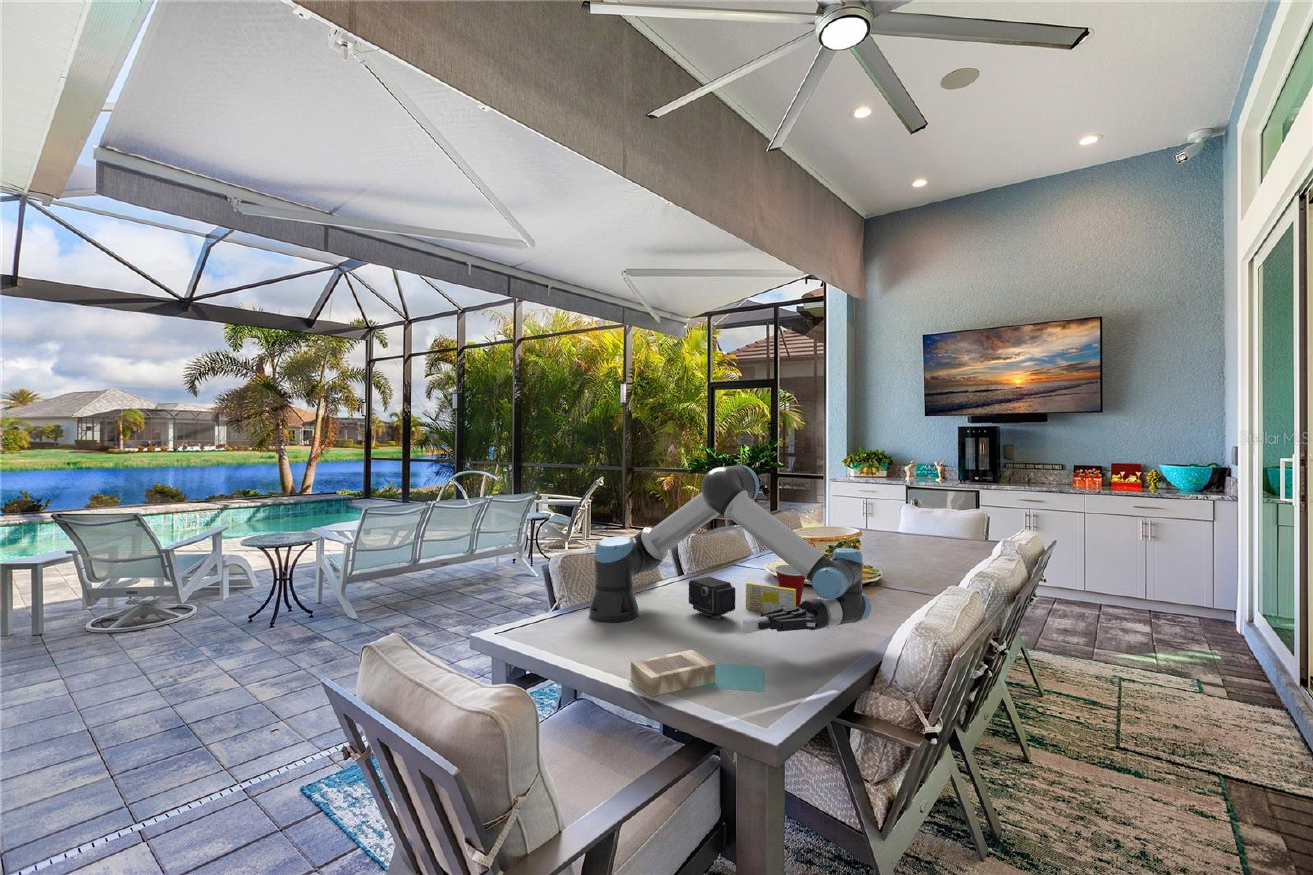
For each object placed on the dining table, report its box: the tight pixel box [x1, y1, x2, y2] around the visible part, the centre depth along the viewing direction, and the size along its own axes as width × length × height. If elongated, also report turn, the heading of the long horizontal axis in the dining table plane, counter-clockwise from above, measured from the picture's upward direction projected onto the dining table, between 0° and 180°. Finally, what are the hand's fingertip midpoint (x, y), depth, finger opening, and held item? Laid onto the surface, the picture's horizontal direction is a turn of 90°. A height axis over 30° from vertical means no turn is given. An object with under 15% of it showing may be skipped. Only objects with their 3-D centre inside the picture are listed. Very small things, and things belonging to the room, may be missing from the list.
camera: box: [688, 576, 736, 620], centre depth 182 cm, size 11×11×15 cm
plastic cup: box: [774, 564, 806, 607], centre depth 193 cm, size 11×11×12 cm
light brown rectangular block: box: [630, 649, 715, 698], centre depth 132 cm, size 4×10×16 cm
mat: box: [695, 662, 765, 693], centre depth 135 cm, size 26×14×1 cm, turn 81°
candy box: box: [745, 582, 796, 612], centre depth 186 cm, size 16×2×8 cm, turn 58°
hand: (744, 626), depth 141 cm, fingers closed
